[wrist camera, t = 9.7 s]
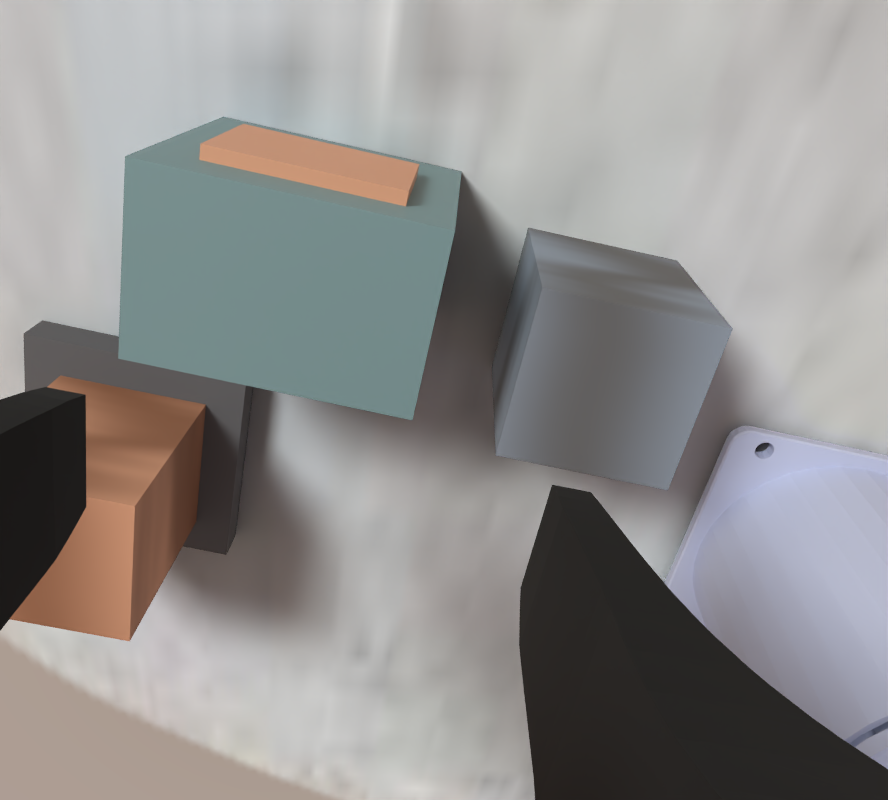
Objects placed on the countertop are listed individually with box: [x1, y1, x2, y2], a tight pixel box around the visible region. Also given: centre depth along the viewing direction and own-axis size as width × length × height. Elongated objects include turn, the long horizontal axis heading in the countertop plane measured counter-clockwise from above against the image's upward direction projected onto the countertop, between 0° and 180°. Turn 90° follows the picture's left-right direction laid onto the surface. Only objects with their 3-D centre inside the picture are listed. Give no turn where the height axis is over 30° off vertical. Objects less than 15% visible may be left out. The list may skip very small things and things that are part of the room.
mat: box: [24, 321, 253, 554], centre depth 23 cm, size 6×6×1 cm
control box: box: [118, 117, 461, 420], centre depth 18 cm, size 6×5×6 cm
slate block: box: [492, 228, 732, 490], centre depth 19 cm, size 4×4×5 cm
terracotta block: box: [10, 375, 206, 641], centre depth 20 cm, size 4×4×5 cm
